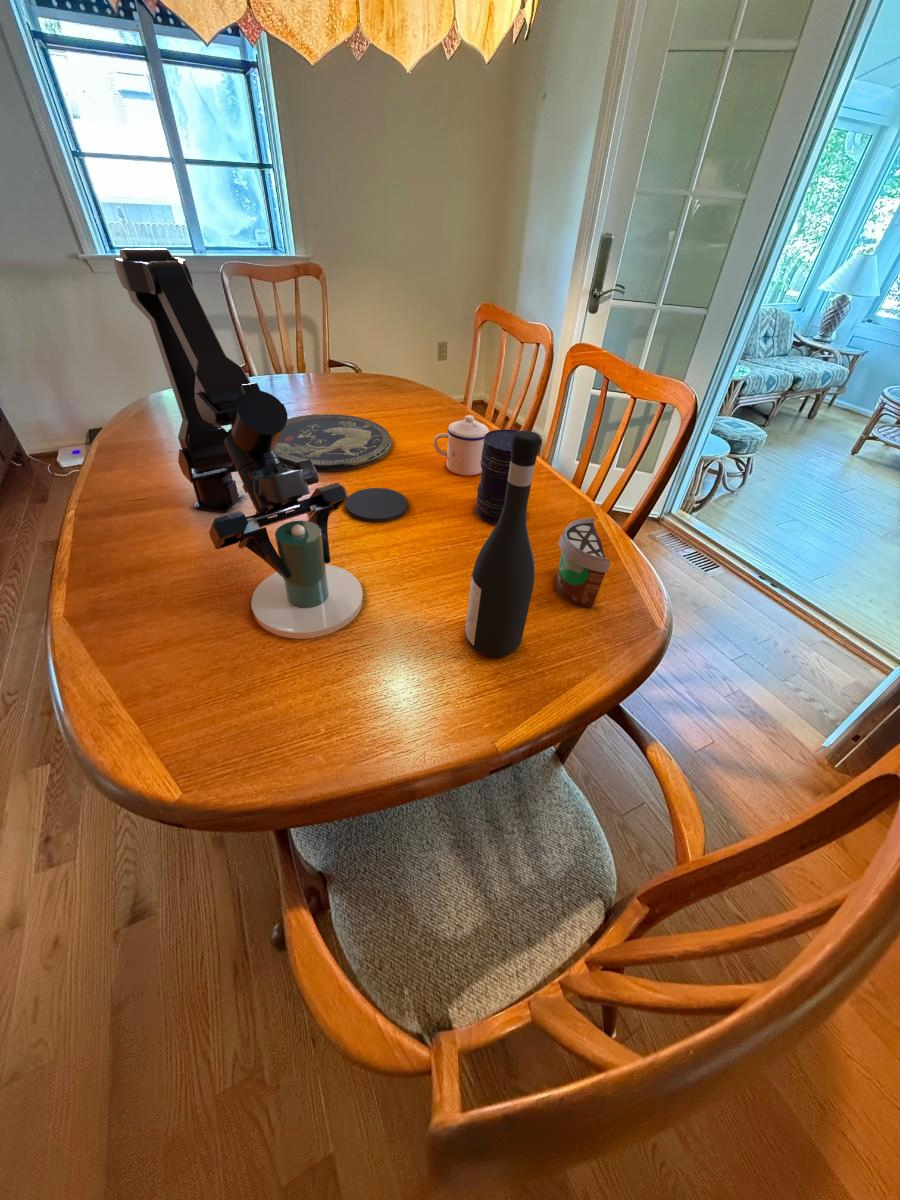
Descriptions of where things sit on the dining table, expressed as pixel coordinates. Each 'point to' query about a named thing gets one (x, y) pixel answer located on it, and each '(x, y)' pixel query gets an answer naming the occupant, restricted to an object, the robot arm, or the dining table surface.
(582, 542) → the food container
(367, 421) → the decorative plate
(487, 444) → the storage jar
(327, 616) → the saucer plate
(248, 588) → the dining table surface
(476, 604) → the wine bottle
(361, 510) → the coaster
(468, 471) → the teacup with lid
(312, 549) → the canister
